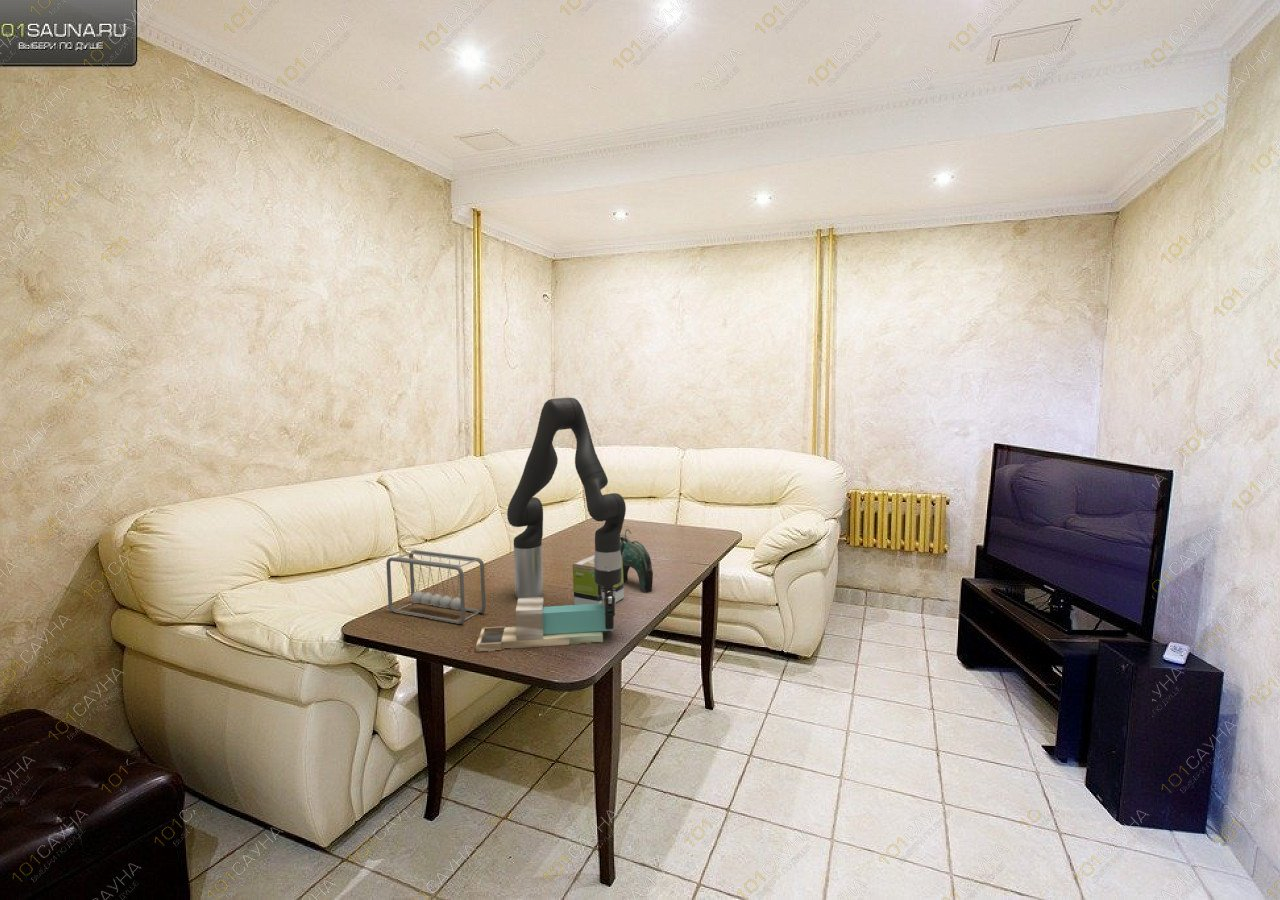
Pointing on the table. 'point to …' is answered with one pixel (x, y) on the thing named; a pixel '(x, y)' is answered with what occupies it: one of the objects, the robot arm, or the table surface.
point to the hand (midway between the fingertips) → (608, 624)
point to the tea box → (591, 583)
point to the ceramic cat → (636, 562)
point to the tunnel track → (529, 631)
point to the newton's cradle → (436, 598)
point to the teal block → (574, 619)
